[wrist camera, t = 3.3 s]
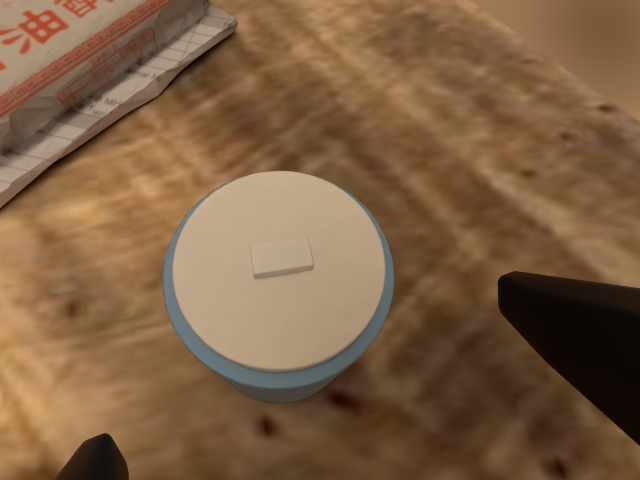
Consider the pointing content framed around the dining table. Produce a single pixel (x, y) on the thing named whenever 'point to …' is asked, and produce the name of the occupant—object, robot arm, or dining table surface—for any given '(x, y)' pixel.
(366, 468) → the dining table surface
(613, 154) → the dining table surface
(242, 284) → the tissue tub
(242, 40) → the dining table surface
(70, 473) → the robot arm
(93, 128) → the packaged product
